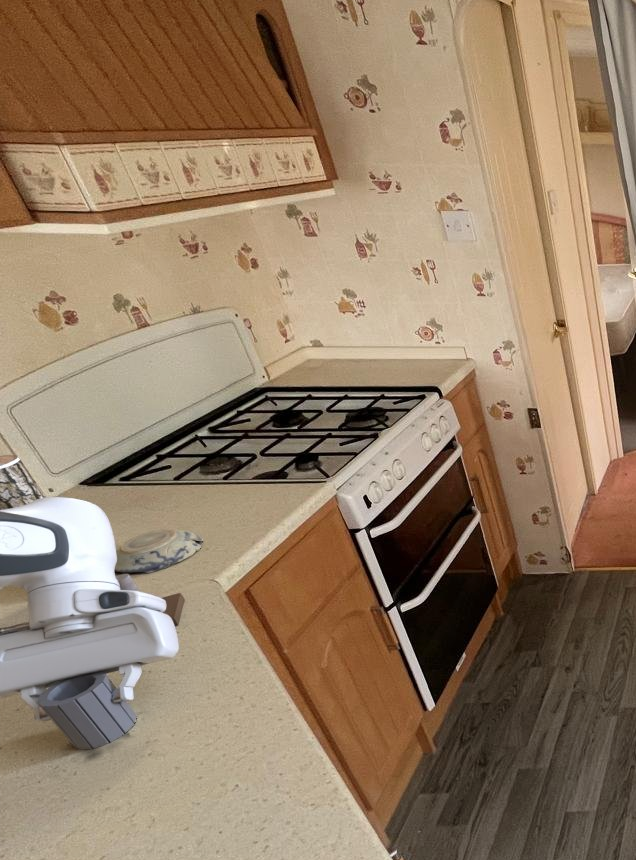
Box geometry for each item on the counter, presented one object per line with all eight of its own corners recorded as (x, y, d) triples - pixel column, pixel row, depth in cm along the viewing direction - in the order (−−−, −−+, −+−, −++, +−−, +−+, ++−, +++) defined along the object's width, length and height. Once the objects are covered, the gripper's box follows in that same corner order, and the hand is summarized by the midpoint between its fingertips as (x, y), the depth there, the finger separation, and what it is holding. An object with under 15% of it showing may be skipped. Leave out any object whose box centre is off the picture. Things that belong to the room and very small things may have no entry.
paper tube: (66, 599, 121) (-27, 474, 108) (44, 593, 123) (-50, 469, 110) (110, 579, 126) (27, 457, 113) (88, 573, 128) (4, 452, 115)
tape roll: (68, 757, 89) (31, 713, 85) (80, 726, 94) (45, 683, 90) (132, 735, 92) (99, 692, 88) (140, 706, 97) (109, 664, 93)
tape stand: (108, 645, 109) (76, 600, 104) (119, 617, 116) (89, 574, 111) (178, 625, 113) (150, 581, 109) (185, 599, 120) (158, 556, 115)
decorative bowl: (103, 558, 133) (112, 586, 124) (92, 542, 131) (101, 569, 122) (196, 529, 142) (211, 553, 133) (188, 514, 140) (202, 537, 131)
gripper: (-44, 629, 87) (-38, 735, 84) (152, 588, 93) (163, 686, 90) (-2, 635, 92) (5, 735, 90) (179, 597, 99) (190, 689, 96)
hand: (86, 710), depth 90 cm, fingers closed on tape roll, 7 cm apart
